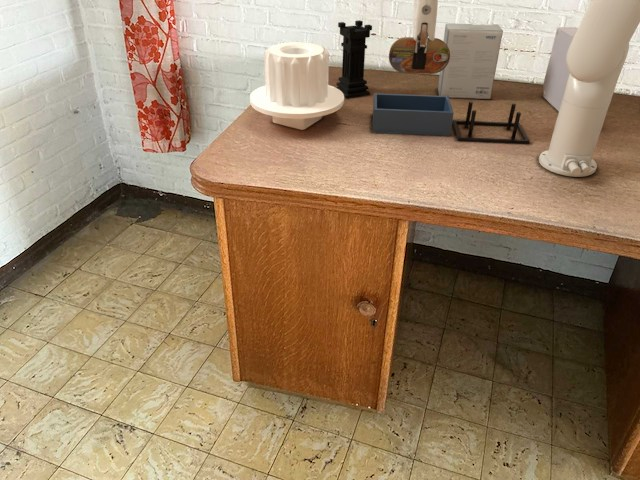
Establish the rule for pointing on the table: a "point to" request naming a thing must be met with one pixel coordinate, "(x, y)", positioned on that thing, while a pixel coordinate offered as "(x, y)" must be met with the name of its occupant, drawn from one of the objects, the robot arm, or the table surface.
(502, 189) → the table surface
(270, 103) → the flanged gear
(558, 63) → the game console
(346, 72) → the chess piece
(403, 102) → the open box
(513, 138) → the rack
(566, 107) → the robot arm
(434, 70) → the tin
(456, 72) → the hard drive box
